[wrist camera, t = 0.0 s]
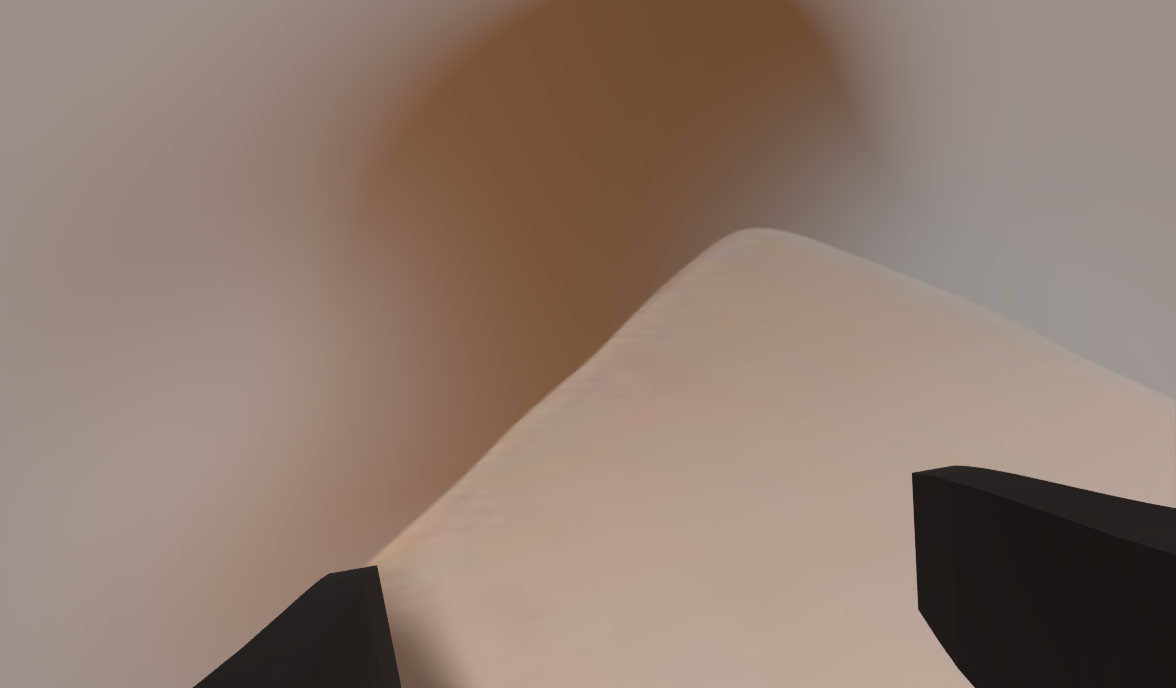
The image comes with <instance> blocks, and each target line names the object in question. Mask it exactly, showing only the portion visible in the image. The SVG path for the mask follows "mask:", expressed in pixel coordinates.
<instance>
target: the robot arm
mask: <svg viewBox="0 0 1176 688" xmlns="http://www.w3.org/2000/svg"><path fill="white" fill-rule="evenodd" d="M912 484H913V505H914V527H915V548H916V569H917V590H918V610H919V611H920V613H921V614H922V616H923V617H924V619H925V620H926V622H927V623H928V625H929V627H930V628H931V630H932V631H933V633H934V634H935V636H936V637H937V639H938V640H939V642H940V643H941V645H942V646H943V648H944V649H945V650H946V652H947V653H948V655H949V656H950V658H951V659H952V660H953V662H954V663H955V665H956V666H957V667H958V669H959V670H960V671H961V672H962V673H963V675H964V676H965V677H966V678H967V679H968V680H969V681H970V683H971V684H972V685H973V686H974V687H975V688H1176V508H1171V507H1166V506H1160V505H1155V504H1150V503H1145V502H1140V501H1135V500H1130V499H1125V498H1120V497H1116V496H1111V495H1106V494H1102V493H1097V492H1093V491H1088V490H1084V489H1079V488H1075V487H1071V486H1066V485H1062V484H1057V483H1053V482H1048V481H1044V480H1039V479H1035V478H1030V477H1026V476H1021V475H1016V474H1012V473H1007V472H1001V471H996V470H991V469H985V468H978V467H970V466H949V467H944V468H938V469H932V470H926V471H920V472H915V473H912ZM193 688H401V684H400V679H399V674H398V669H397V664H396V659H395V654H394V649H393V644H392V639H391V634H390V629H389V624H388V619H387V614H386V609H385V604H384V598H383V593H382V588H381V583H380V578H379V573H378V568H377V565H376V566H371V567H365V568H359V569H353V570H348V571H342V572H336V573H330V574H328V575H326V576H325V577H323V578H322V579H320V580H319V581H318V582H316V583H315V584H314V585H313V586H312V587H310V588H309V589H308V590H307V591H306V592H305V593H304V594H303V595H301V596H300V597H299V598H298V599H297V600H296V601H295V602H293V603H292V604H291V605H290V606H289V607H288V608H287V609H286V610H285V611H283V612H282V613H281V614H280V615H279V616H278V617H277V618H276V619H274V621H272V622H271V623H270V624H269V625H268V626H267V627H265V628H264V629H263V630H262V631H261V632H260V633H259V634H257V635H256V636H255V637H254V638H253V639H252V640H251V641H250V642H248V643H247V644H246V645H245V646H244V647H243V648H241V649H240V650H239V651H238V652H237V653H235V654H234V655H233V656H232V657H230V658H229V659H228V660H227V661H225V662H224V663H223V664H222V665H220V666H219V667H218V668H217V669H215V670H214V671H213V672H212V673H210V674H209V675H208V676H207V677H206V678H204V679H203V680H202V681H201V682H199V683H198V684H197V685H196V686H194V687H193Z"/></svg>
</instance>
